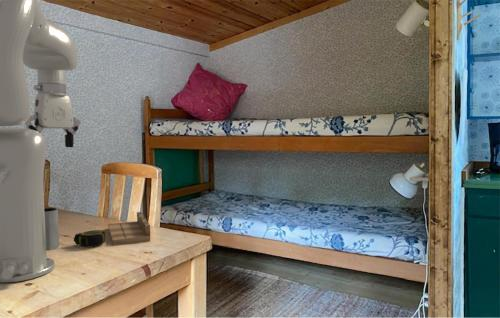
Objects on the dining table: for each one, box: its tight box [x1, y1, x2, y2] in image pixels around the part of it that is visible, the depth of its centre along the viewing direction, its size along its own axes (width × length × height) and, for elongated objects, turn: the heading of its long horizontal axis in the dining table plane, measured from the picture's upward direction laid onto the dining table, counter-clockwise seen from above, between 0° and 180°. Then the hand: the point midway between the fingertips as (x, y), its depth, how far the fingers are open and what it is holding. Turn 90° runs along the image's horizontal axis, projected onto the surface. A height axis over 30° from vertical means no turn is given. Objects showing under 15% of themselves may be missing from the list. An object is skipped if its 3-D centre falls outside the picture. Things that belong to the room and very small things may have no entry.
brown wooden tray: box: [107, 211, 151, 246], centre depth 111 cm, size 19×10×4 cm, turn 24°
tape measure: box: [73, 229, 106, 248], centre depth 101 cm, size 7×7×4 cm
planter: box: [44, 207, 60, 251], centre depth 99 cm, size 4×4×10 cm
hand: (54, 147), depth 113 cm, fingers open, 9 cm apart
